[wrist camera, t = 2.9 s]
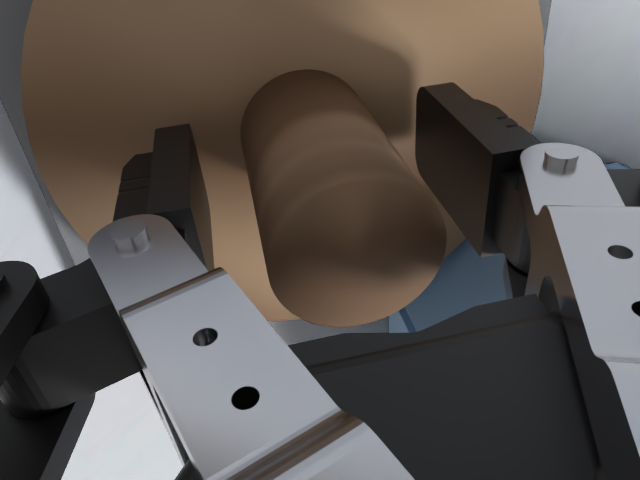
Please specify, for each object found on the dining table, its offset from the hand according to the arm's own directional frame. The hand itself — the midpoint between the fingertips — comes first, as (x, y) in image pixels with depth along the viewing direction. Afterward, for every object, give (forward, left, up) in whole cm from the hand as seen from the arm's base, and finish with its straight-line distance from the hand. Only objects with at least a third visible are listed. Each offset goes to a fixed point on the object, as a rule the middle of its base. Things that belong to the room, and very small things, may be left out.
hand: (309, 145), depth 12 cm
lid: (0, 0, -2) cm, 2 cm away
